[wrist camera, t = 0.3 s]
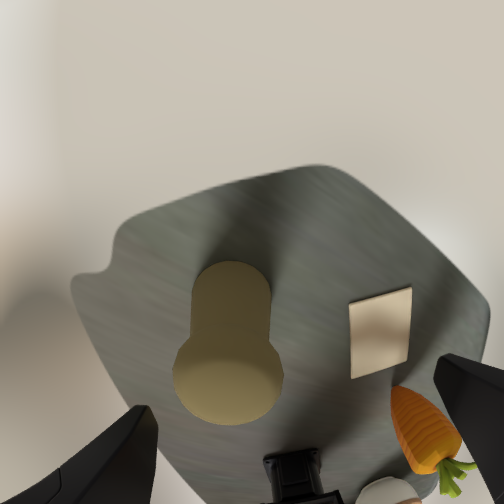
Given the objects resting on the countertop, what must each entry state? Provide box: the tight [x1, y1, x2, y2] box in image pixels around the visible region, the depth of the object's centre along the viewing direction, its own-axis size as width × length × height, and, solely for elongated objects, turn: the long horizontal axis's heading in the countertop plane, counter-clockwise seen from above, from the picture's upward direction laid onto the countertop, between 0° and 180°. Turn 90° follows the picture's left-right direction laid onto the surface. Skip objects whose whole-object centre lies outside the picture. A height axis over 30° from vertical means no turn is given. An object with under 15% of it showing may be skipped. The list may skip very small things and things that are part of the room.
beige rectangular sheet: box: [349, 287, 412, 379], centre depth 23 cm, size 8×6×1 cm
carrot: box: [391, 385, 478, 498], centre depth 18 cm, size 5×5×15 cm
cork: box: [172, 261, 284, 425], centre depth 16 cm, size 6×6×11 cm
